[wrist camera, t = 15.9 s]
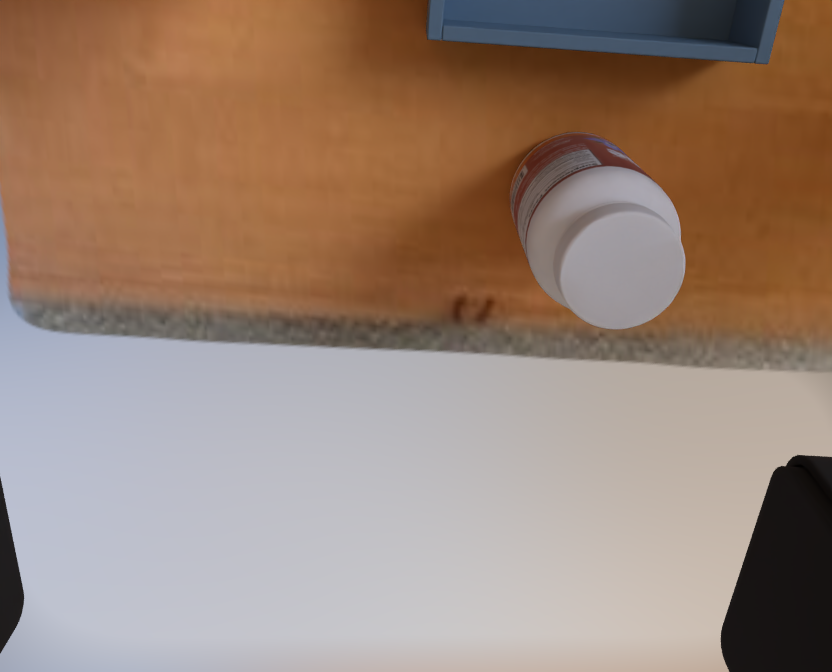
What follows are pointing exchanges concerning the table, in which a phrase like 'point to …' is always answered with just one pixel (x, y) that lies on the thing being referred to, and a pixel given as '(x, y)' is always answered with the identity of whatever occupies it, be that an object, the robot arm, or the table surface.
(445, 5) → the tote
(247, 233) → the table surface
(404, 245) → the table surface
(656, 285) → the pill bottle
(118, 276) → the table surface
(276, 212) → the table surface
